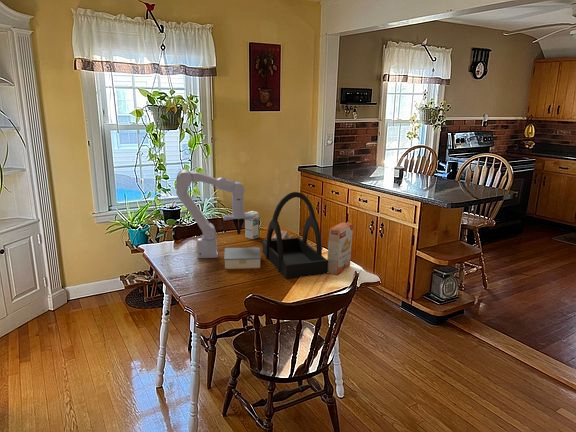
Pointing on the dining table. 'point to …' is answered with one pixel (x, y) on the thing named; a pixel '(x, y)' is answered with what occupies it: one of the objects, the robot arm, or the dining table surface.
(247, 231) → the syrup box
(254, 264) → the box
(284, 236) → the packaged product
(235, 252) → the lid
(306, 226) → the basket
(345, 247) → the cracker box
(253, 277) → the dining table surface
